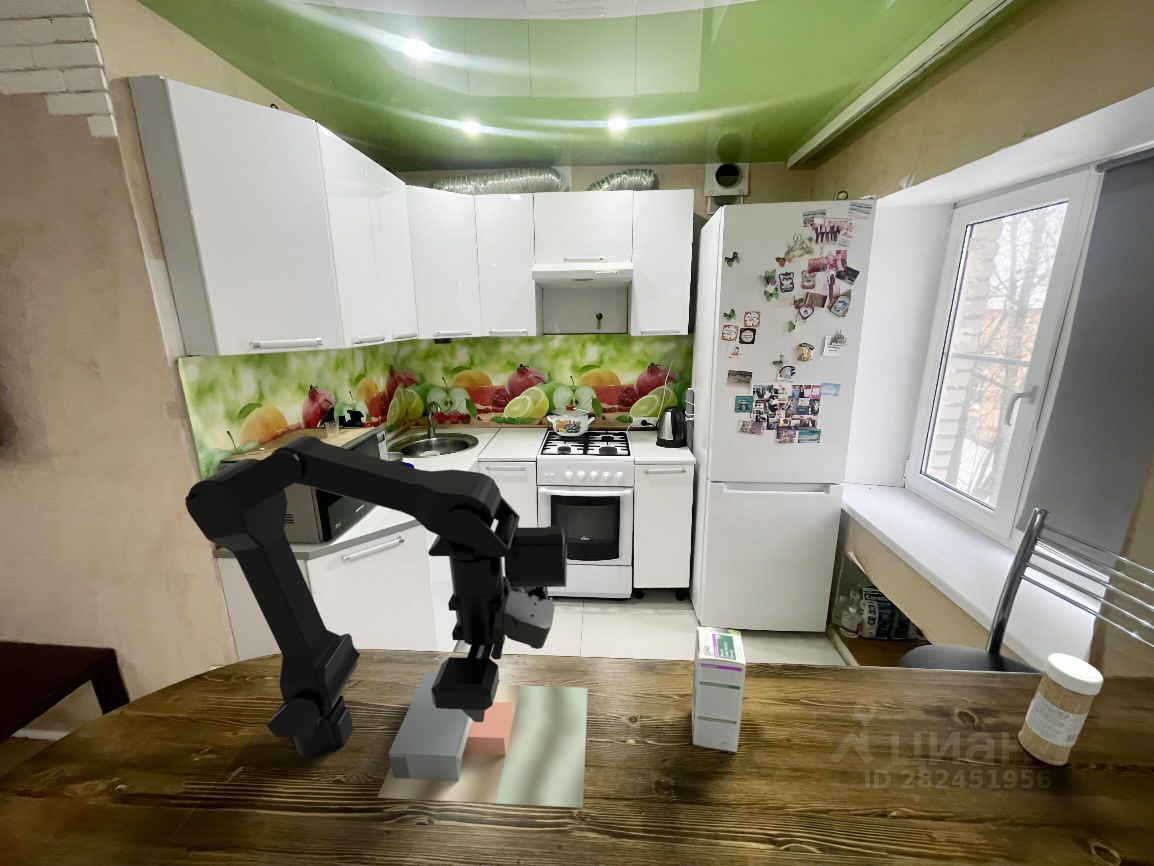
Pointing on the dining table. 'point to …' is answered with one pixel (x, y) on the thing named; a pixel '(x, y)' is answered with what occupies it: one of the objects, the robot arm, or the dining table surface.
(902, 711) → the dining table surface
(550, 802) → the board
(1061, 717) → the sprinkles bottle
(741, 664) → the syrup box
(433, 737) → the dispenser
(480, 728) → the pink eraser
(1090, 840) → the dining table surface
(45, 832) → the dining table surface
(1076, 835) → the dining table surface
